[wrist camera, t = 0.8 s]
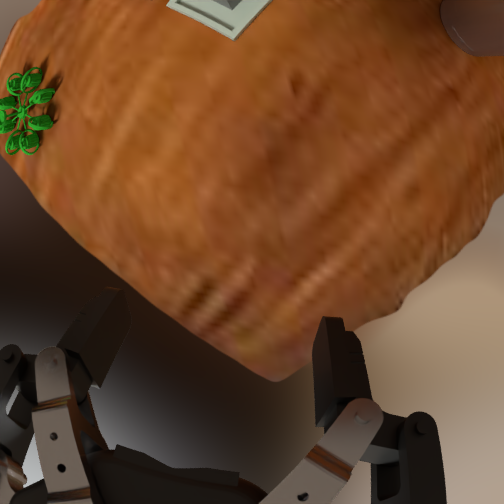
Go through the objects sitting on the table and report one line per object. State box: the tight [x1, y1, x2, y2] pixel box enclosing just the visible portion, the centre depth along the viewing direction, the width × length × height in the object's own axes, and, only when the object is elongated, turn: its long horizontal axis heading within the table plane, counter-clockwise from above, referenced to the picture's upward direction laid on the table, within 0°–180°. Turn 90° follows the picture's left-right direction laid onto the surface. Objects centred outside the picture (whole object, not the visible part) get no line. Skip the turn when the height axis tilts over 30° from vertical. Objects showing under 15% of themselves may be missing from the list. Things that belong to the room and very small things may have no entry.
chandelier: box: [0, 67, 55, 155], centre depth 27 cm, size 15×15×7 cm
